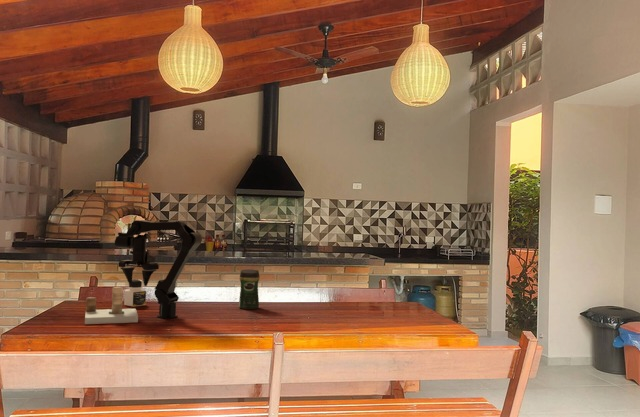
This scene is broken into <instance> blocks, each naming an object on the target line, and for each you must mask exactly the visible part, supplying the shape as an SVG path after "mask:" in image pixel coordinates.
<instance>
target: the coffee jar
mask: <svg viewBox="0 0 640 417" xmlns="http://www.w3.org/2000/svg"><path fill="white" fill-rule="evenodd" d="M239 281H240V292H239V301H238V308H239V309H242V310H243V309H244V310H253V309H254V310H255V309H258V308H259V306H260V299H259V281H260V272H259V270H258V269H253V268H251V269H250V268H249V269H247V268H246V269H241V270H240V273H239Z"/></svg>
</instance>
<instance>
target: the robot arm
mask: <svg viewBox="0 0 640 417" xmlns="http://www.w3.org/2000/svg"><path fill="white" fill-rule="evenodd" d="M154 231H175V232H176V233H177V235H178V236H179V238H180V239H181V244H180V250H179V253H178V255H177V256H176V259H174V262H173V264H172V265H171V267H170V269H169V271H168V273H167V275H166V277H165V278H164V279H159V280H158V281H157V285H156V286H155V287H154V292H153V294H154V296H155V298H156V299H157V304H159V310H158V315H157V316H156V318H160V319H161V318H162V319H167V320H169V319H174V318H178V317H179V315H177V314H176V313H177V310H176V309H177V302H178V301H179V298H180V297H179V295H178V294H177V293H176V292H175V291H176V285H177V281H178V279H179V277H180V275H181V273H182V271H183V270H184V267H185V265H186V264H187V262H188V260H189V259H190V257H191V254H192V253H194V251H196V250H197V249H198V247H199V246H200V245H201V244H202V241H203V237H202V236H201V234H200V233H198V232H196V231H195V230H194V229H193V228H191V227H190V226H188V224H186V223H185V222H184V221H182V220H176V221H159V222H158V221H157V222H155V221H151V220H145V219H137V220H133V221H132V223H131V225H130V227H129V228H128V230H127V231H126V232H122V231H121V232H120V231H119V232H117V236H116V237H115V240H114V246H115V247H116V248H119V249H131V250H130V251H129V254H131V259H124V260H123V259H122V260H119V262H118V268H120V270H122V272H123V274H124V275H125V278H126V280H127V283H128V285H129V284H131V283H132V280H133V273H134V272H133V271H134V270H135V268H142V270H141V274H142V283H143V285H144V287H146V286H148V284H149V282H150V278H151V276H152V274H153V273H154V272H156V271H157V270H159V269H160V267H159V266H160V265H159V263H158V262H156V260H157V258H156V257H155V256H152V255H149V250H147V240H150V239H152V236H151V235H149V234H148V233H151V232H154Z"/></svg>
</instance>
